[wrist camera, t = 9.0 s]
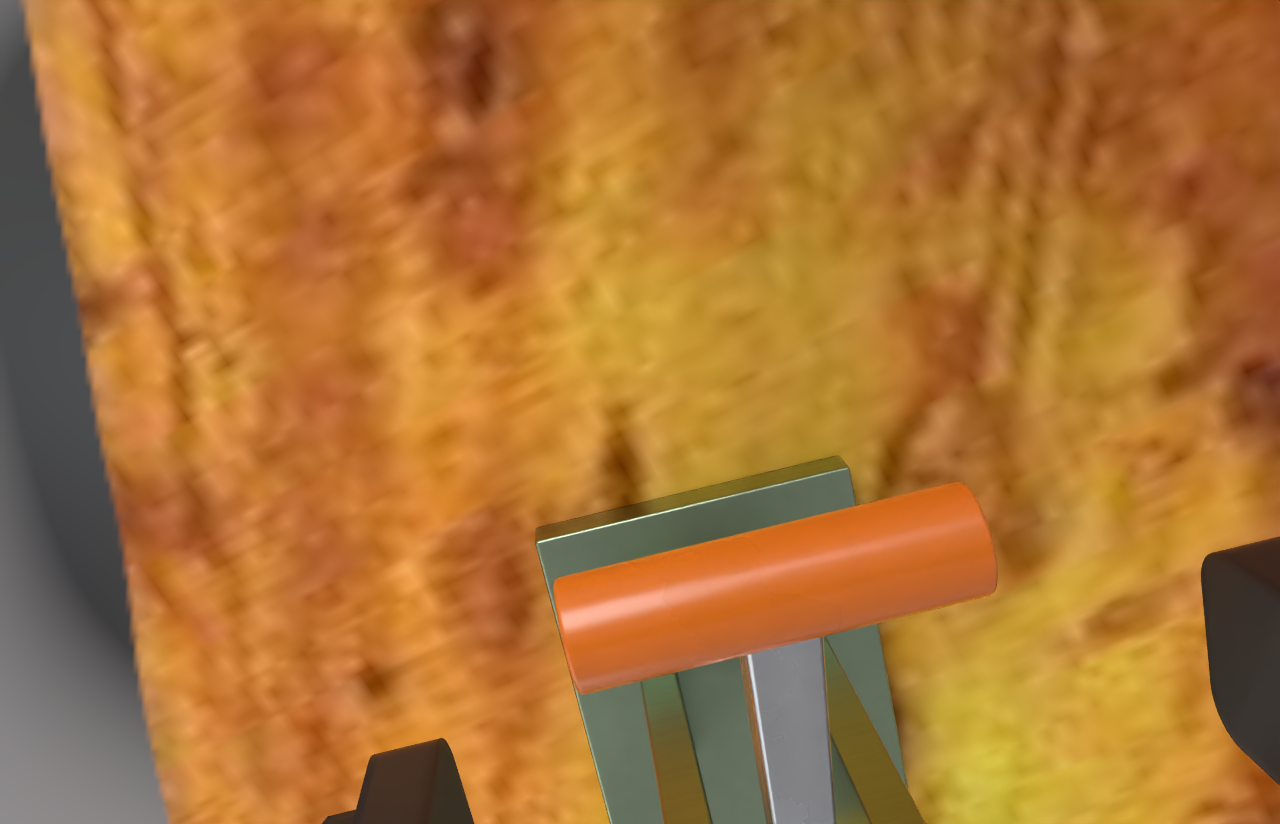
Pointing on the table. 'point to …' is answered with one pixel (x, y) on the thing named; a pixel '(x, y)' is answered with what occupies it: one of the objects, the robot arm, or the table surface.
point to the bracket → (727, 672)
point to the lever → (778, 617)
